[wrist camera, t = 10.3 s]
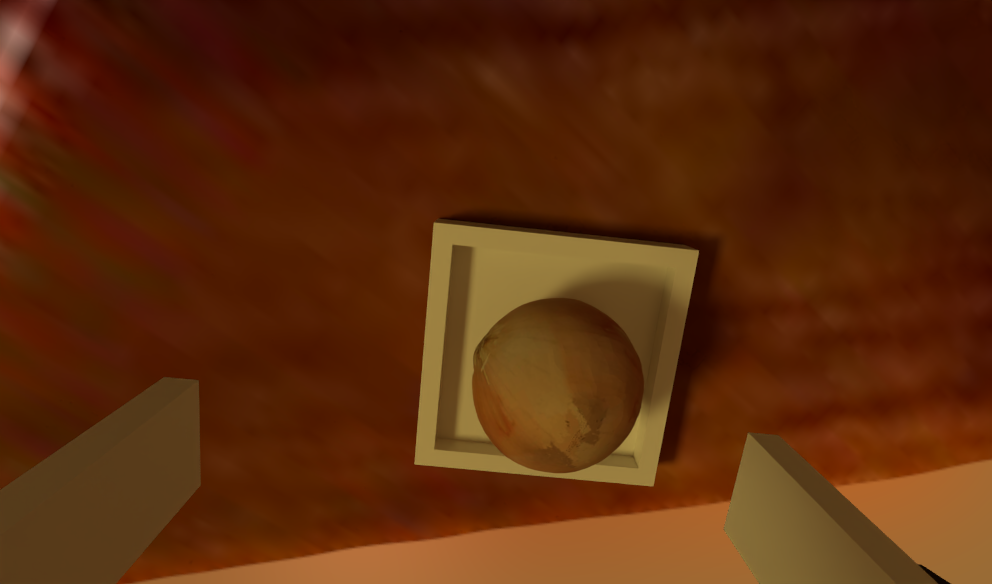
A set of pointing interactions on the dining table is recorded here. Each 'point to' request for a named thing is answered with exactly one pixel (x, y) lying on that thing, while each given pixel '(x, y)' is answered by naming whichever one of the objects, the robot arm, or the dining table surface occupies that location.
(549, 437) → the onion
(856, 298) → the dining table surface
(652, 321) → the dish
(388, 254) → the dining table surface
